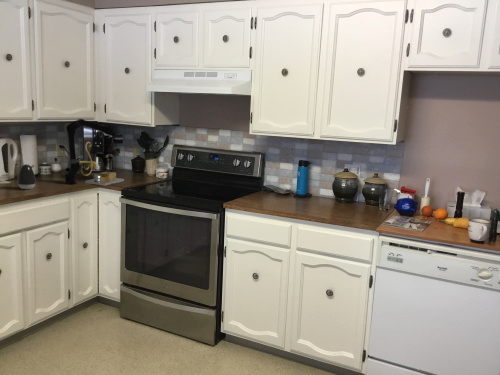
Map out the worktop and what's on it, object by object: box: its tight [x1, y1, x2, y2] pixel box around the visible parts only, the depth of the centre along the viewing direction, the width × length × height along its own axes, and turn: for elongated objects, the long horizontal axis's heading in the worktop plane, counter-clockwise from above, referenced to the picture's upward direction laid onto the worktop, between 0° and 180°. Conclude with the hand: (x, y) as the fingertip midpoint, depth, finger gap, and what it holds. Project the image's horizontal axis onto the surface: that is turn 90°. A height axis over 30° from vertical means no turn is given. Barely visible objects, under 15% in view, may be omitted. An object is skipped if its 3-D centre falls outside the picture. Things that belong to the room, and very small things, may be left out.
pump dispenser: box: [17, 163, 37, 191], centre depth 280 cm, size 10×10×15 cm
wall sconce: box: [78, 141, 98, 177], centre depth 337 cm, size 14×10×25 cm
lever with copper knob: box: [105, 159, 110, 171], centre depth 319 cm, size 3×3×8 cm
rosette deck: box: [84, 171, 125, 186], centre depth 318 cm, size 22×16×6 cm
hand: (107, 166), depth 319 cm, fingers closed on lever with copper knob, 2 cm apart
